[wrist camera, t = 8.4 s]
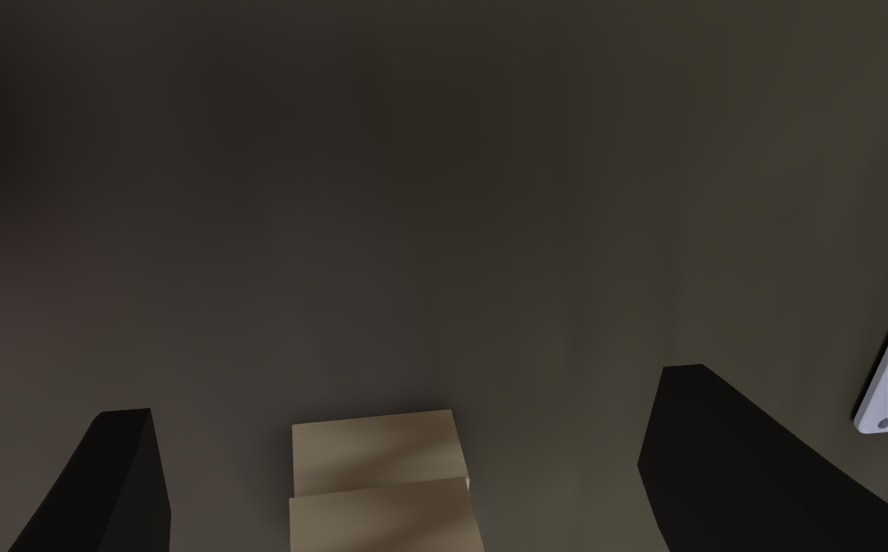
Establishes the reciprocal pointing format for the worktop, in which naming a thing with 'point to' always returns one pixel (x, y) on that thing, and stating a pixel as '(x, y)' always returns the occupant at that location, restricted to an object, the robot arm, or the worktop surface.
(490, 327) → the worktop surface
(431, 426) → the lower slab
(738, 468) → the robot arm
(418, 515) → the upper slab
